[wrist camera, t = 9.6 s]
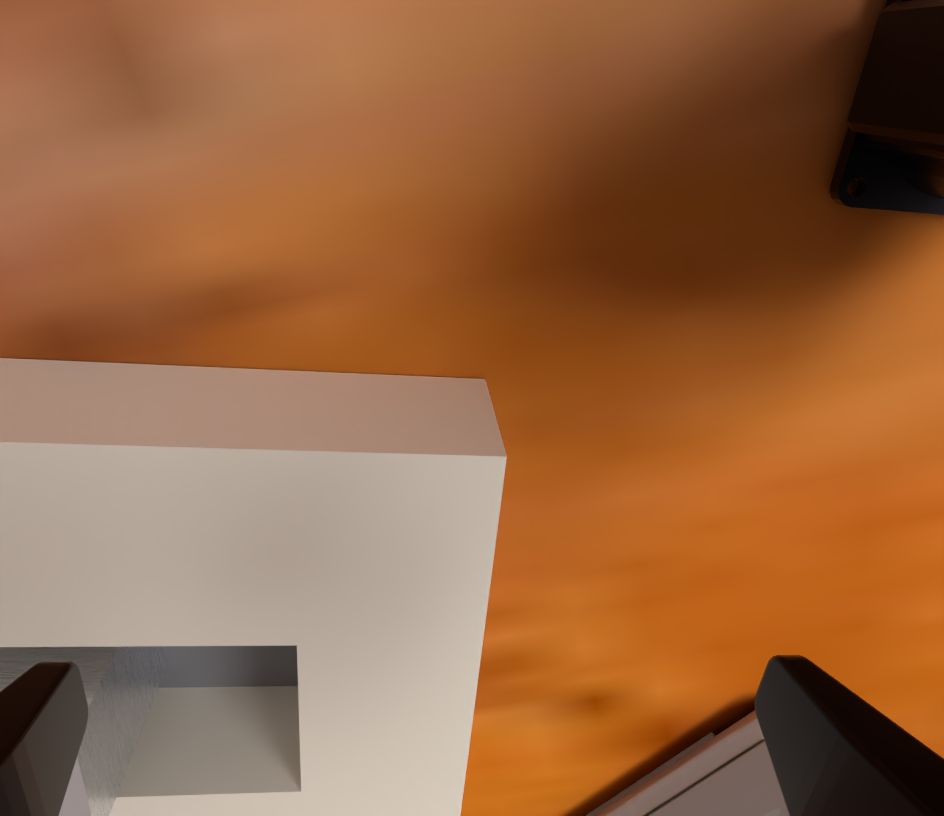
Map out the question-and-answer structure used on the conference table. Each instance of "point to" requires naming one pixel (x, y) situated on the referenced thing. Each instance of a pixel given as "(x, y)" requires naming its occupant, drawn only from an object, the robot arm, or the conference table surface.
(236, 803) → the slot board
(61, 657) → the light grey rectangular block
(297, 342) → the conference table surface
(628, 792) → the digital clock
